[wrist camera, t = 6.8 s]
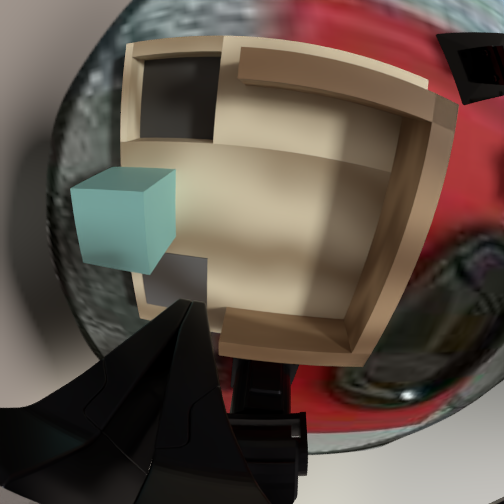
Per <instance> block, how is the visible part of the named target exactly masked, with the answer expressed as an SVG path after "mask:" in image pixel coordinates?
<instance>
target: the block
mask: <svg viewBox="0 0 504 504" xmlns="http://www.w3.org/2000/svg"><path fill="white" fill-rule="evenodd" d="M70 190H71V198H72V206H73V212H74V219H75V225H76V230H77V236H78V241H79V246H80V250H81V255H82V259H83V263H88V264H93V265H98V266H103V267H108V268H113V269H119V270H124V271H130V272H135V273H141V274H146V275H150V274H151V273H152V271H153V270H154V268H155V267H156V265H157V264H158V262H159V261H160V259H161V258H162V256H163V255H164V253H165V252H166V250H167V249H168V247H169V246H170V244H171V243H172V241H173V240H174V239H175V237H176V208H175V194H176V169H165V168H143V167H111V168H109V169H107V170H105V171H103V172H101V173H99V174H97V175H95V176H93V177H91V178H89V179H87V180H85V181H83V182H81V183H79V184H77V185H76V186H74V187H72V188H70Z"/></svg>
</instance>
